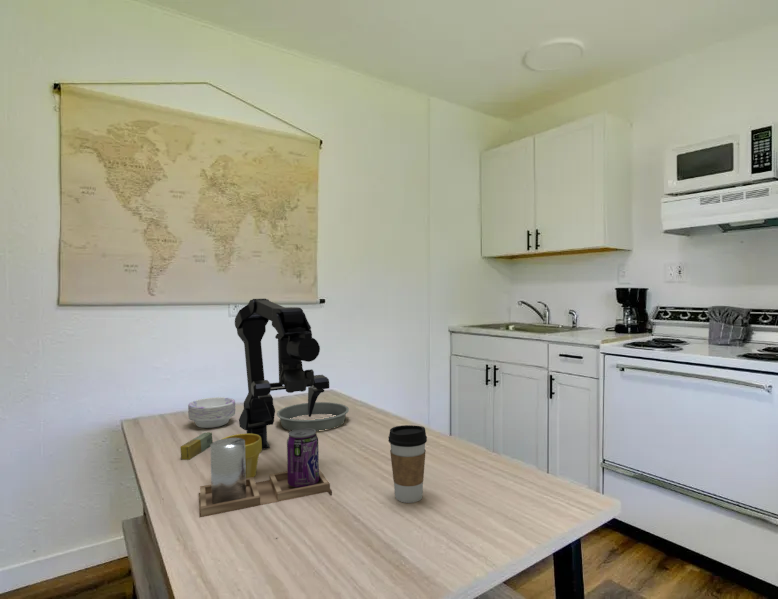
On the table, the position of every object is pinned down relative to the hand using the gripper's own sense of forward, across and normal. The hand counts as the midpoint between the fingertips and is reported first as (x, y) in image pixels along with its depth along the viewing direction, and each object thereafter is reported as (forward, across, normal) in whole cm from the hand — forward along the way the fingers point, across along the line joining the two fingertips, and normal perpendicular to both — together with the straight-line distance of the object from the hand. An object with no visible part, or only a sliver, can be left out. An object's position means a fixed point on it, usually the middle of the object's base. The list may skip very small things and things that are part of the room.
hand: (291, 419), depth 114 cm
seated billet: (+12, -16, -12) cm, 23 cm away
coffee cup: (+13, +20, -26) cm, 35 cm away
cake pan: (+14, +15, +39) cm, 44 cm away
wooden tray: (+13, -8, -12) cm, 20 cm away
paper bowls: (+13, -17, +53) cm, 57 cm away
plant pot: (+13, -13, 0) cm, 18 cm away
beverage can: (+12, 0, -12) cm, 17 cm away
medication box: (+13, -22, +26) cm, 36 cm away
